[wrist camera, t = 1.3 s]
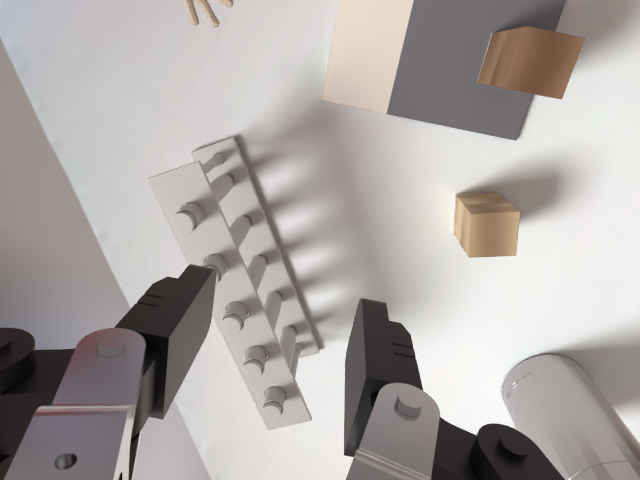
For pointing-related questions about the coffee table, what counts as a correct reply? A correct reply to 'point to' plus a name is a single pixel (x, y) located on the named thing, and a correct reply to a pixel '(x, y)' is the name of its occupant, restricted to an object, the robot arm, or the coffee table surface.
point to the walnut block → (530, 61)
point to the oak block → (486, 224)
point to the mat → (430, 60)
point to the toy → (206, 8)
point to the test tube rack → (241, 275)
